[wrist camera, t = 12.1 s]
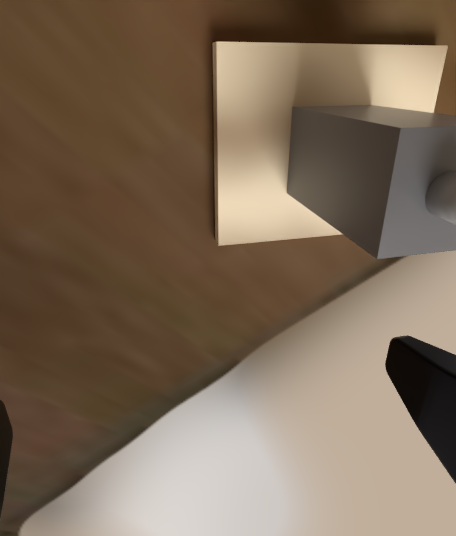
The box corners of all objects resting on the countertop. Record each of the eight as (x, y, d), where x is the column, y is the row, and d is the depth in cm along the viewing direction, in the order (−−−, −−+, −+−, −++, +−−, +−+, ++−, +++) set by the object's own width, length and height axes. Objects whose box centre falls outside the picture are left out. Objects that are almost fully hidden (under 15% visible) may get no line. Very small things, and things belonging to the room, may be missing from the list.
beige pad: (400, 223, 23) (408, 227, 22) (215, 239, 21) (218, 245, 20) (435, 46, 19) (447, 45, 18) (212, 42, 17) (216, 41, 16)
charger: (359, 188, 21) (522, 267, 12) (286, 193, 20) (408, 281, 11) (371, 105, 19) (572, 130, 10) (292, 106, 18) (441, 136, 10)
